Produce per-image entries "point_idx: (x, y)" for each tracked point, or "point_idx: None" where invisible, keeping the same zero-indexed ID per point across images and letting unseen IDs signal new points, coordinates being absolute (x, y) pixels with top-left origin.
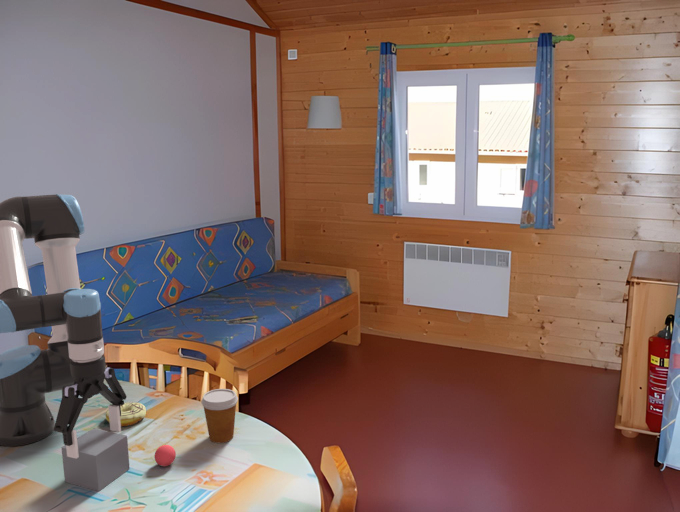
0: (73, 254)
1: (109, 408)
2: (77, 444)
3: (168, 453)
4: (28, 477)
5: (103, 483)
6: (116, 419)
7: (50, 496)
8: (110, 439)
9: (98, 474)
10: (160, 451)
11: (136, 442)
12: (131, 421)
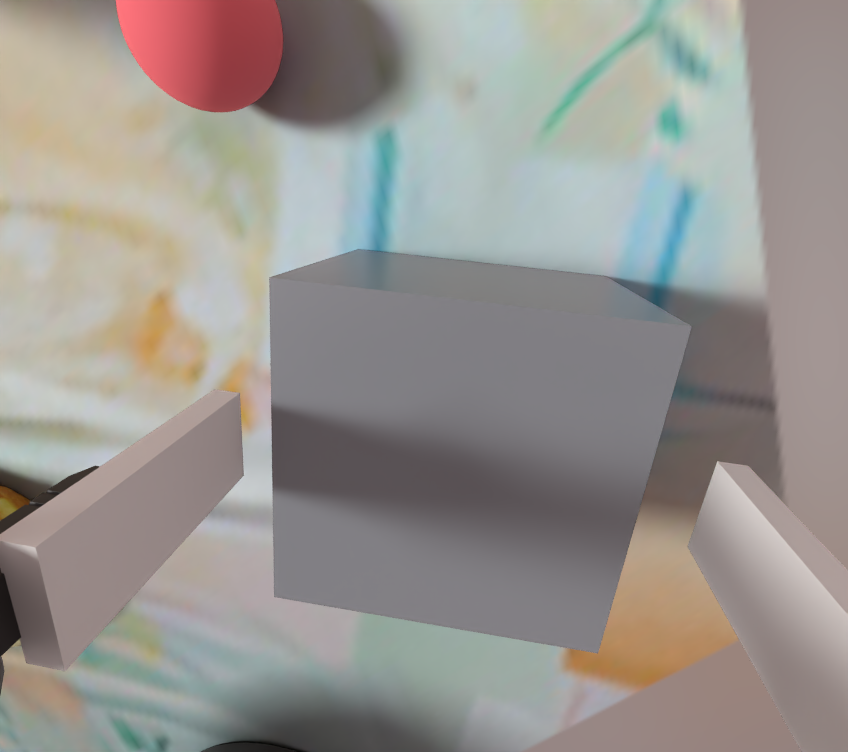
0: None
1: (93, 624)
2: (783, 539)
3: None
4: (558, 649)
5: (569, 275)
6: (168, 466)
7: (690, 482)
8: (381, 379)
9: (622, 292)
10: (221, 7)
11: (130, 378)
12: (5, 501)
